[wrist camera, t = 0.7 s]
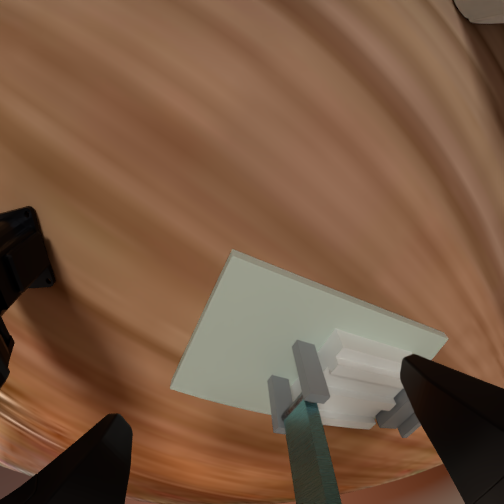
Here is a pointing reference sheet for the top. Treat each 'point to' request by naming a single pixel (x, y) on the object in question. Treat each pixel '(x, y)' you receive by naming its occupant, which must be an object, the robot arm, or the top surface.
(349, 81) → the top surface
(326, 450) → the lever
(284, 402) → the heatsink board
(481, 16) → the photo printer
